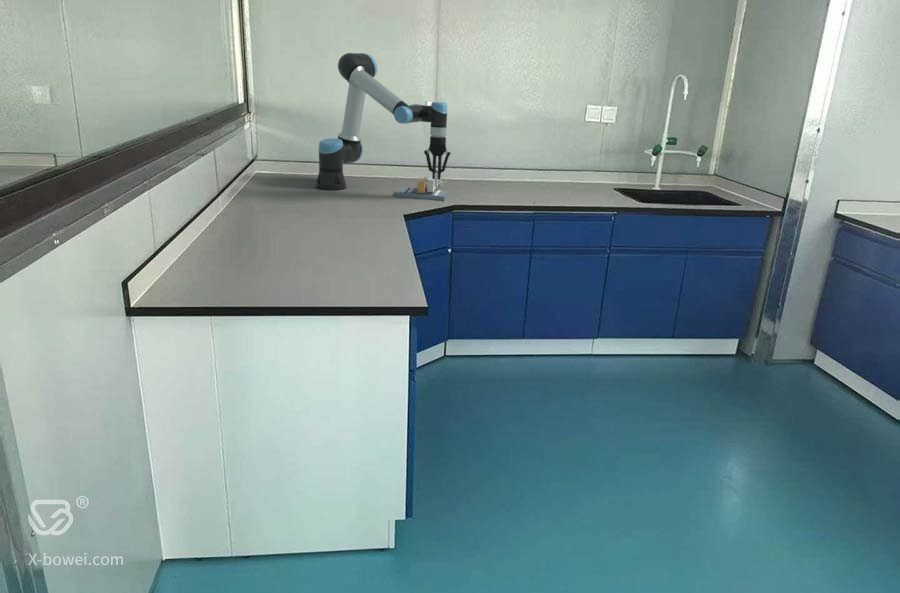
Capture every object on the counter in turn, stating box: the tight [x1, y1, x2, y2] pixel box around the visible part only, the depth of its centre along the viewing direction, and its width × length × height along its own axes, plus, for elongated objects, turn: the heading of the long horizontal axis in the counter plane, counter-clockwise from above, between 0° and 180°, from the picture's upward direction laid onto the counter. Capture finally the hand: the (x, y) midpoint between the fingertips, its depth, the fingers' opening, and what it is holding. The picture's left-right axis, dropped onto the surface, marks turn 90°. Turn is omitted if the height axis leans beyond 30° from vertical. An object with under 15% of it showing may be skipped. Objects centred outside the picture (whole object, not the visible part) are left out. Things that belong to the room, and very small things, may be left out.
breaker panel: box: [395, 176, 449, 202], centre depth 311 cm, size 24×14×8 cm, turn 82°
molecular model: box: [424, 169, 447, 188], centre depth 328 cm, size 19×10×10 cm, turn 154°
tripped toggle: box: [417, 178, 426, 193], centre depth 307 cm, size 3×3×6 cm
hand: (436, 185), depth 306 cm, fingers closed
